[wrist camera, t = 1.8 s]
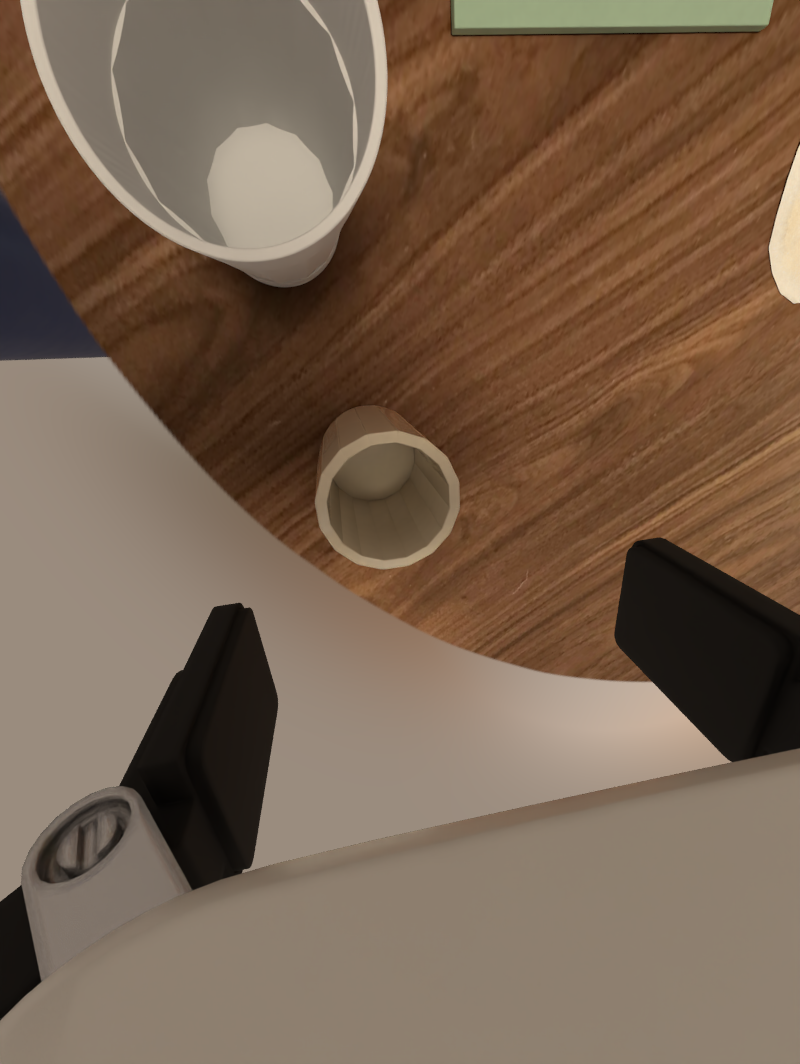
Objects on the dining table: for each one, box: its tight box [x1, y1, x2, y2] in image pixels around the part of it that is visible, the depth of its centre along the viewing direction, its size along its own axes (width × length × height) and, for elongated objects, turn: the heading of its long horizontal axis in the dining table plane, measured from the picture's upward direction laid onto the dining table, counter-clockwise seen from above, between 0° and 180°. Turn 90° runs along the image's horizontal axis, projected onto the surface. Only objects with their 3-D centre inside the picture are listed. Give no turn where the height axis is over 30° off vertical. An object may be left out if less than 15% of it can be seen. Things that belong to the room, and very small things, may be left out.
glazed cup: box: [315, 405, 460, 569], centre depth 22 cm, size 6×6×9 cm
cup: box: [20, 0, 387, 287], centre depth 15 cm, size 8×8×12 cm
